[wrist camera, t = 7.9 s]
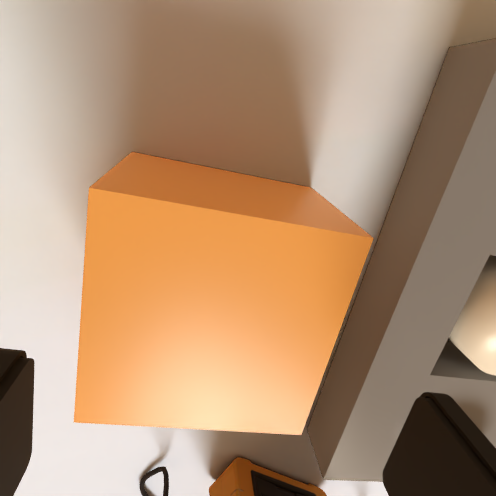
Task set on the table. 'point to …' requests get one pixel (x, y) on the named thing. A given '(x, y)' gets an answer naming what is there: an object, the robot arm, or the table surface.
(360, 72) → the table surface
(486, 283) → the button
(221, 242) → the orange block
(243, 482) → the multimeter
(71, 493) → the table surface
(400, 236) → the grey flat block
